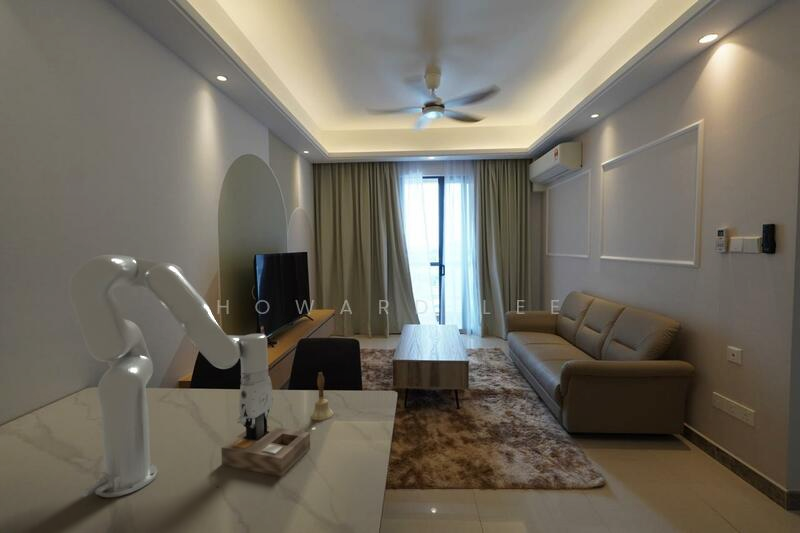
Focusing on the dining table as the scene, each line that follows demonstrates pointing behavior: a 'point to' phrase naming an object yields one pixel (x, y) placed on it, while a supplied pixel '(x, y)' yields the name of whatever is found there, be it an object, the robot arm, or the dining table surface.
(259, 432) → the plug
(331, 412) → the hand bell
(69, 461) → the dining table surface
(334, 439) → the dining table surface
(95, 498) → the dining table surface
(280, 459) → the socket block
